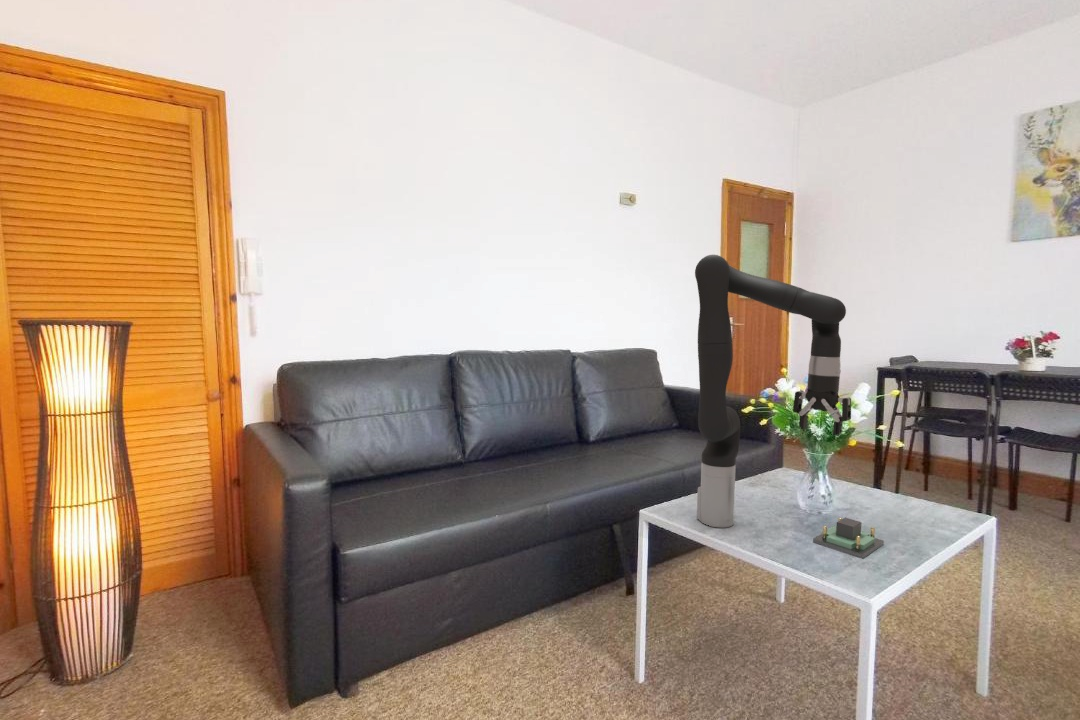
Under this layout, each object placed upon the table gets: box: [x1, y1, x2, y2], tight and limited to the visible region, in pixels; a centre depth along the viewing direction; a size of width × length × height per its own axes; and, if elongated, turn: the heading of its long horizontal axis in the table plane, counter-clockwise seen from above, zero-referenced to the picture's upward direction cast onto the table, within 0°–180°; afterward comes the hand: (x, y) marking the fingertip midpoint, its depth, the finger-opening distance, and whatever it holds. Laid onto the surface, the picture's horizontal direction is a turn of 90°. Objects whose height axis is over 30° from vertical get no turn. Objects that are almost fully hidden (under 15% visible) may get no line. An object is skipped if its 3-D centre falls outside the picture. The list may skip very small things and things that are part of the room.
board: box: [821, 517, 876, 550], centre depth 142 cm, size 10×11×5 cm
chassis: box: [812, 517, 885, 559], centre depth 142 cm, size 12×13×4 cm
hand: (819, 432), depth 148 cm, fingers open, 8 cm apart
